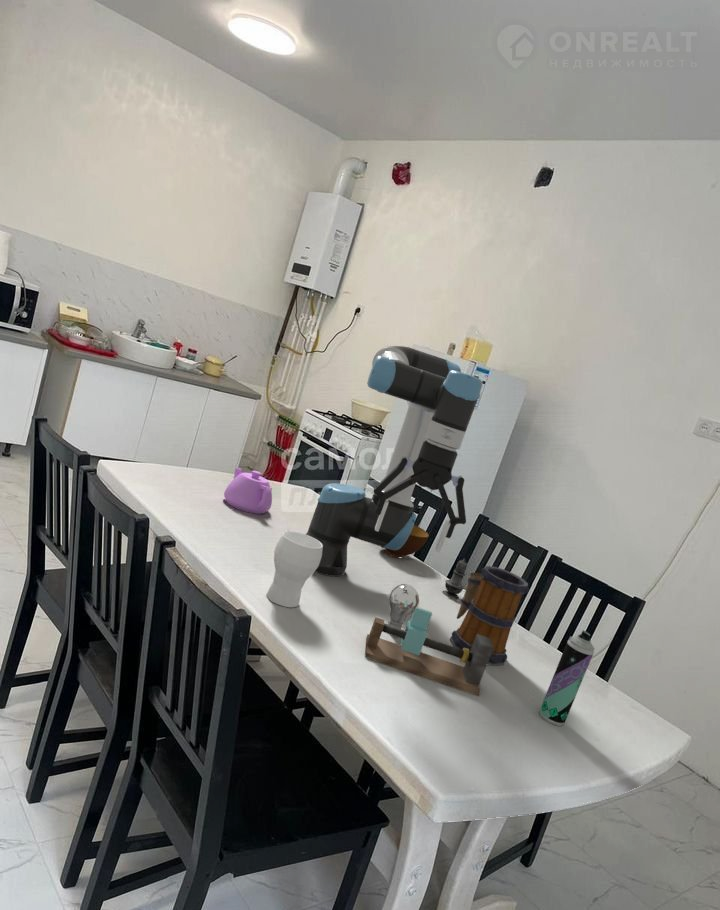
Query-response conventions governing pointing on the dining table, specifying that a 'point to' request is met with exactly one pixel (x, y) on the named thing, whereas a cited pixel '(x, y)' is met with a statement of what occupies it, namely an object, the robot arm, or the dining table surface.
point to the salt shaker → (455, 581)
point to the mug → (489, 610)
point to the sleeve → (416, 631)
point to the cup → (293, 566)
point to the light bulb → (402, 604)
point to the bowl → (411, 543)
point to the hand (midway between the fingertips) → (407, 540)
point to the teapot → (249, 492)
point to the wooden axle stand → (431, 658)
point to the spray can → (567, 679)
